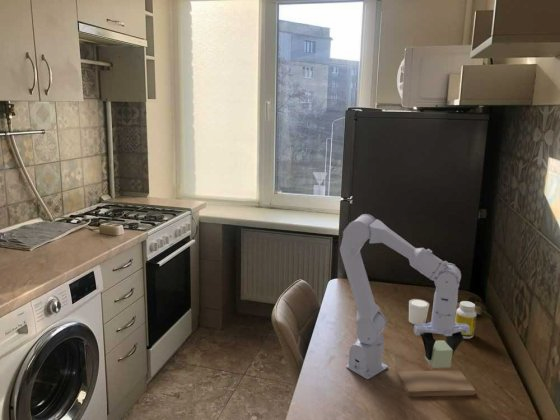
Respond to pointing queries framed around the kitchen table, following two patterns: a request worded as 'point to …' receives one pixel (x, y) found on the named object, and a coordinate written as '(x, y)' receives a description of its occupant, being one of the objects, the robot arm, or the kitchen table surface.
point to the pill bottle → (466, 317)
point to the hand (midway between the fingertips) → (438, 357)
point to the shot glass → (418, 311)
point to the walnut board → (435, 383)
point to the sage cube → (441, 355)
